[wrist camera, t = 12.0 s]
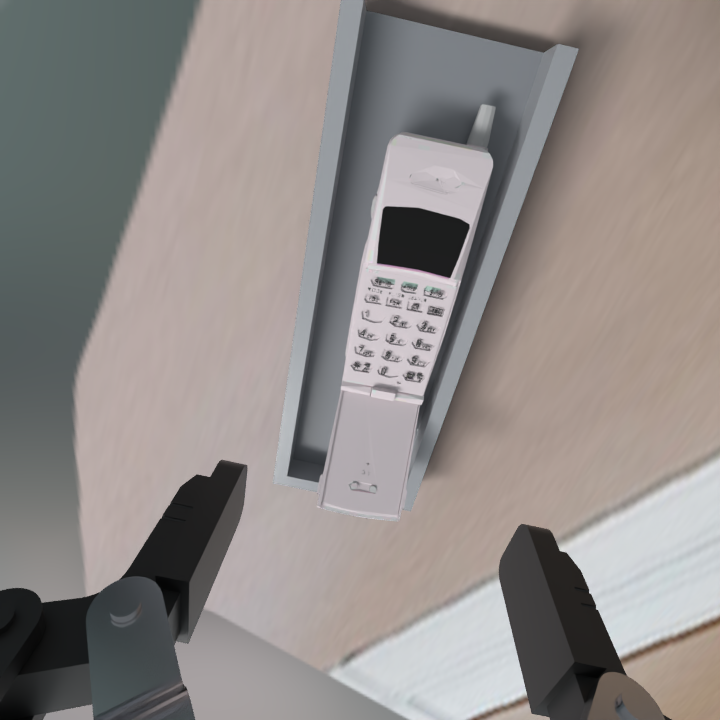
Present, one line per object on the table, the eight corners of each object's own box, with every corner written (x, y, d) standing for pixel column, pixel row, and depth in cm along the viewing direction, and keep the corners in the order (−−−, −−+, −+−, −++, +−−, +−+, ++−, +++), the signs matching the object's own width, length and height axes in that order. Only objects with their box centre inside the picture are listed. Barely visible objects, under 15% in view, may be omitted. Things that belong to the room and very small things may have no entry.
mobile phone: (313, 512, 28) (395, 69, 16) (324, 453, 33) (393, 87, 22) (400, 527, 28) (543, 101, 17) (398, 467, 33) (505, 111, 22)
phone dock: (348, 11, 21) (342, -9, 19) (555, 61, 22) (579, 48, 19) (281, 457, 35) (272, 483, 32) (409, 483, 35) (410, 511, 33)
